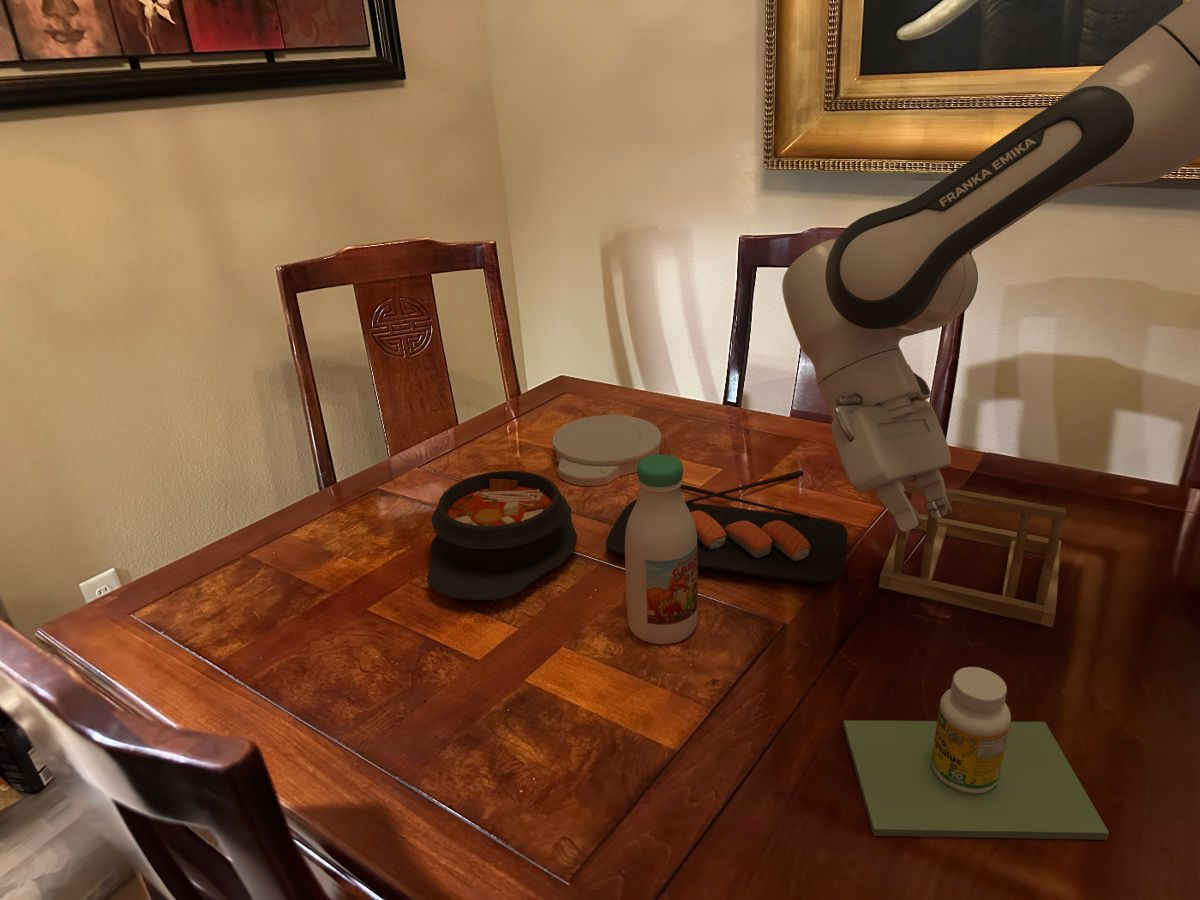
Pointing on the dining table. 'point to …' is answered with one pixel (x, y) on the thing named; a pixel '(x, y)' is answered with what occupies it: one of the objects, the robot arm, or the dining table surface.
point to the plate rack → (1016, 541)
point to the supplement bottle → (971, 731)
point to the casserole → (498, 535)
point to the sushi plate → (758, 539)
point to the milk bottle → (661, 555)
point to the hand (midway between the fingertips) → (928, 522)
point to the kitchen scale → (603, 448)
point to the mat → (934, 809)
